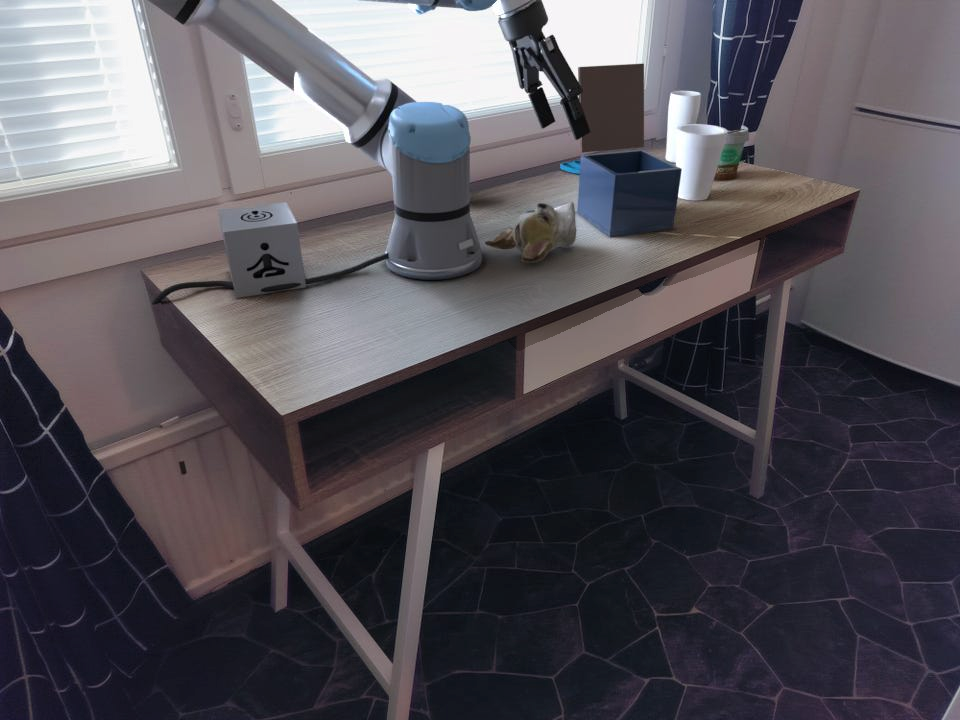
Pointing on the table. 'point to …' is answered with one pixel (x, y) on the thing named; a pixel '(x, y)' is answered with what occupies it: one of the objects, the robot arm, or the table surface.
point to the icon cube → (262, 248)
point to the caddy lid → (612, 106)
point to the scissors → (573, 164)
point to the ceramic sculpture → (539, 232)
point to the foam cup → (698, 158)
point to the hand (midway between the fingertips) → (564, 130)
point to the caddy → (628, 192)
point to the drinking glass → (680, 117)
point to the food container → (731, 154)
